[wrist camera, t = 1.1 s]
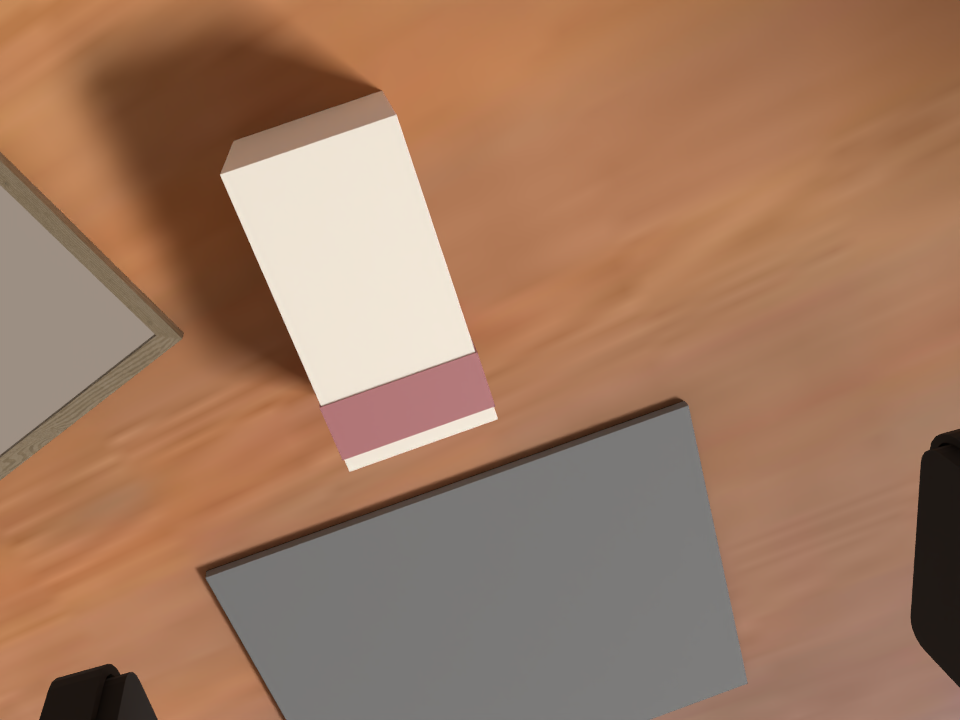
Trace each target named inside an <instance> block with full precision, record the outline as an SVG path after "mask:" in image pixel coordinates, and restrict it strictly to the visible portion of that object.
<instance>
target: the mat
mask: <svg viewBox="0 0 960 720" xmlns="http://www.w3.org/2000/svg"><path fill="white" fill-rule="evenodd" d="M206 580H207V581H208V583H209V585H210V587H211V588H212V590H213V592H214V594H215V595H216V597H217V599H218V601H219V602H220V604H221V606H222V608H223V610H224V611H225V613H226V615H227V617H228V618H229V620H230V622H231V624H232V625H233V627H234V629H235V631H236V632H237V634H238V636H239V638H240V639H241V641H242V643H243V645H244V646H245V648H246V650H247V652H248V654H249V655H250V657H251V659H252V661H253V662H254V664H255V666H256V668H257V669H258V671H259V673H260V675H261V676H262V678H263V680H264V682H265V683H266V685H267V687H268V689H269V690H270V692H271V694H272V696H273V698H274V699H275V701H276V703H277V705H278V706H279V708H280V710H281V712H282V713H283V715H284V717H285V719H286V720H650V719H653V718H656V717H658V716H661V715H664V714H666V713H669V712H672V711H675V710H677V709H680V708H683V707H685V706H688V705H691V704H693V703H696V702H699V701H702V700H704V699H707V698H710V697H712V696H715V695H718V694H720V693H723V692H726V691H729V690H731V689H734V688H737V687H739V686H742V685H745V684H747V678H746V673H745V669H744V664H743V659H742V655H741V650H740V645H739V641H738V636H737V631H736V627H735V622H734V617H733V612H732V608H731V603H730V598H729V594H728V589H727V584H726V580H725V575H724V570H723V566H722V561H721V556H720V552H719V547H718V542H717V538H716V533H715V528H714V523H713V519H712V514H711V509H710V505H709V500H708V495H707V491H706V486H705V481H704V477H703V472H702V467H701V463H700V458H699V453H698V449H697V444H696V439H695V434H694V430H693V425H692V420H691V416H690V411H689V406H688V405H687V403H686V402H685V401H683V402H680V403H677V404H675V405H672V406H669V407H666V408H663V409H661V410H658V411H655V412H652V413H649V414H646V415H644V416H641V417H638V418H635V419H632V420H630V421H627V422H624V423H621V424H618V425H616V426H613V427H610V428H607V429H604V430H602V431H599V432H596V433H593V434H590V435H588V436H585V437H582V438H579V439H576V440H574V441H571V442H568V443H565V444H562V445H560V446H557V447H554V448H551V449H548V450H546V451H543V452H540V453H537V454H534V455H531V456H529V457H526V458H523V459H520V460H517V461H515V462H512V463H509V464H506V465H503V466H501V467H498V468H495V469H492V470H489V471H487V472H484V473H481V474H478V475H475V476H473V477H470V478H467V479H464V480H461V481H459V482H456V483H453V484H450V485H447V486H445V487H442V488H439V489H436V490H433V491H431V492H428V493H425V494H422V495H419V496H417V497H414V498H411V499H408V500H405V501H402V502H400V503H397V504H394V505H391V506H388V507H386V508H383V509H380V510H377V511H374V512H372V513H369V514H366V515H363V516H360V517H358V518H355V519H352V520H349V521H346V522H344V523H341V524H338V525H335V526H332V527H330V528H327V529H324V530H321V531H318V532H316V533H313V534H310V535H307V536H304V537H302V538H299V539H296V540H293V541H290V542H287V543H285V544H282V545H279V546H276V547H273V548H271V549H268V550H265V551H262V552H259V553H257V554H254V555H251V556H248V557H245V558H243V559H240V560H237V561H234V562H231V563H229V564H226V565H223V566H220V567H217V568H215V569H212V570H209V571H206Z"/></svg>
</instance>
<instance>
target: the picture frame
mask: <svg viewBox="0 0 960 720" xmlns="http://www.w3.org/2000/svg"><path fill="white" fill-rule="evenodd" d="M183 334H184V333H183V332H182V331H181V330H180V329H179V328H178V327H177V326H176V325H175V324H174V323H173V322H172V321H171V320H170V319H169V318H168V317H167V316H166V315H165V314H164V313H163V312H162V311H161V310H160V309H159V308H158V307H157V306H156V305H155V304H154V303H153V302H152V301H151V300H150V299H149V298H148V297H147V296H146V295H145V294H144V293H143V292H142V291H141V290H140V289H139V288H138V287H137V286H136V285H135V284H134V283H133V282H132V281H131V280H130V279H129V278H128V277H127V276H126V275H125V274H124V273H123V272H122V271H121V270H120V269H119V268H117V267H116V266H115V265H114V264H113V263H112V262H111V261H110V260H109V259H108V258H107V257H106V256H105V255H104V254H103V253H102V252H101V251H100V250H99V249H98V248H97V247H96V246H95V245H94V244H93V243H92V242H91V241H90V240H89V239H88V238H87V237H86V236H85V235H84V234H83V233H82V232H81V231H80V230H79V229H78V228H77V227H76V226H75V225H74V224H73V223H72V222H71V221H70V220H69V219H68V218H67V217H66V216H65V215H64V214H63V213H62V212H61V211H60V210H59V209H58V208H57V207H56V206H55V205H54V204H53V203H52V202H51V201H50V200H49V199H48V198H47V197H46V196H45V195H44V194H43V193H42V192H40V191H39V190H38V189H37V188H36V187H35V186H34V185H33V184H32V183H31V182H30V181H29V180H28V179H27V178H26V177H25V176H24V175H23V174H22V173H21V172H20V171H19V170H18V169H17V168H16V167H15V166H14V165H13V164H12V163H11V162H10V161H9V160H8V159H7V158H6V157H5V156H4V155H3V154H2V153H1V152H0V480H1V479H3V478H4V477H5V476H6V475H8V474H9V473H10V472H12V471H13V470H14V469H15V468H17V467H18V466H19V465H21V464H22V463H23V462H24V461H26V460H27V459H28V458H30V457H31V456H32V455H33V454H35V453H36V452H37V451H39V450H40V449H41V448H42V447H44V446H45V445H46V444H48V443H49V442H50V441H51V440H53V439H54V438H55V437H57V436H58V435H59V434H60V433H62V432H63V431H64V430H66V429H67V428H68V427H69V426H71V425H72V424H73V423H75V422H76V421H77V420H78V419H80V418H81V417H82V416H84V415H85V414H86V413H87V412H89V411H90V410H91V409H93V408H94V407H95V406H96V405H98V404H99V403H100V402H102V401H103V400H104V399H105V398H107V397H108V396H109V395H110V394H112V393H113V392H114V391H116V390H117V389H118V388H119V387H121V386H122V385H123V384H125V383H126V382H127V381H128V380H130V379H131V378H132V377H134V376H135V375H136V374H137V373H139V372H140V371H141V370H143V369H144V368H145V367H146V366H148V365H149V364H150V363H152V362H153V361H154V360H155V359H157V358H158V357H159V356H161V355H162V354H163V353H164V352H166V351H167V350H168V349H170V348H171V347H172V346H173V345H175V344H176V343H177V342H179V341H180V340H181V339H182V338H183Z"/></svg>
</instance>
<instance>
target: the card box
mask: <svg viewBox="0 0 960 720" xmlns="http://www.w3.org/2000/svg"><path fill="white" fill-rule="evenodd" d="M220 176H221V178H222V180H223V183H224V185H225V187H226V190H227V192H228V194H229V196H230V199H231V201H232V203H233V206H234V208H235V210H236V212H237V215H238V217H239V219H240V222H241V224H242V226H243V229H244V231H245V233H246V235H247V238H248V240H249V242H250V245H251V247H252V249H253V251H254V254H255V256H256V258H257V261H258V263H259V265H260V267H261V270H262V272H263V274H264V277H265V279H266V281H267V283H268V286H269V288H270V290H271V293H272V295H273V297H274V300H275V302H276V304H277V306H278V309H279V311H280V313H281V316H282V318H283V320H284V322H285V325H286V327H287V329H288V332H289V334H290V336H291V338H292V341H293V343H294V345H295V348H296V350H297V352H298V354H299V357H300V359H301V361H302V364H303V366H304V368H305V371H306V373H307V375H308V377H309V380H310V382H311V384H312V387H313V389H314V391H315V393H316V396H317V398H318V400H319V403H320V410H321V412H322V414H323V417H324V419H325V421H326V423H327V426H328V428H329V430H330V432H331V435H332V437H333V439H334V442H335V444H336V446H337V448H338V451H339V453H340V455H341V458H342V460H345V462H346V464H347V467H348V469H349V471H353V470H356V469H359V468H361V467H364V466H367V465H370V464H373V463H376V462H378V461H381V460H384V459H387V458H390V457H392V456H395V455H398V454H401V453H404V452H407V451H409V450H412V449H415V448H418V447H421V446H423V445H426V444H429V443H432V442H435V441H438V440H440V439H443V438H446V437H449V436H452V435H454V434H457V433H460V432H463V431H466V430H469V429H471V428H474V427H477V426H480V425H483V424H485V423H488V422H491V421H494V420H497V419H498V418H497V415H496V412H495V409H494V407H495V404H494V401H493V398H492V395H491V392H490V389H489V386H488V383H487V380H486V377H485V374H484V371H483V368H482V365H481V362H480V359H479V356H478V353H477V351H476V348H475V346H474V344H473V341H472V339H471V337H470V334H469V331H468V328H467V325H466V322H465V319H464V316H463V313H462V310H461V307H460V304H459V301H458V298H457V295H456V292H455V289H454V286H453V283H452V280H451V277H450V274H449V271H448V268H447V265H446V262H445V259H444V256H443V253H442V250H441V247H440V244H439V241H438V238H437V235H436V232H435V229H434V226H433V223H432V220H431V217H430V214H429V211H428V208H427V205H426V202H425V199H424V196H423V193H422V190H421V187H420V184H419V181H418V178H417V175H416V172H415V169H414V166H413V163H412V160H411V157H410V154H409V151H408V148H407V145H406V142H405V139H404V136H403V133H402V130H401V127H400V124H399V121H398V118H397V115H396V113H395V112H394V110H393V108H392V107H391V105H390V103H389V101H388V100H387V98H386V96H385V95H384V93H383V91H379V92H377V93H374V94H371V95H368V96H365V97H362V98H359V99H356V100H353V101H350V102H347V103H344V104H341V105H338V106H335V107H332V108H329V109H326V110H323V111H320V112H317V113H314V114H312V115H309V116H306V117H303V118H300V119H297V120H294V121H291V122H288V123H285V124H282V125H279V126H276V127H273V128H270V129H267V130H264V131H261V132H258V133H255V134H252V135H249V136H247V137H244V138H241V139H238V140H235V141H233V144H232V146H231V149H230V151H229V153H228V156H227V158H226V161H225V163H224V166H223V168H222V171H221V173H220Z"/></svg>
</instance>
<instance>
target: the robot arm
mask: <svg viewBox="0 0 960 720" xmlns="http://www.w3.org/2000/svg"><path fill="white" fill-rule="evenodd" d="M911 625H912V629H913V632H914V634H915V636H916V638H917V640H918V642H919V643H920V645H921V646H922V648H923V649H924V650H925V651H926V652H927V653H928V654H929V655H930V657H931V658H932V659H933V660H934V661H935V662H936V663H937V664H938V665H939V666H940V667H941V668H942V669H943V670H944V671H945V672H946V673H947V675H948V676H949V677H950V678H951V679H952V680H953V681H954V682H955V683H956V684H957V685H958V686H959V687H960V429H957V430H954V431H950V432H946V433H943V434H940V435H938V436H936V437H935V438H934V439H933V441H932V442H931V447H930V450H928V451H926V452H925V453H924V454H923V456H922V460H921V470H920V485H919V500H918V515H917V529H916V544H915V559H914V574H913V589H912V604H911ZM39 720H158V719H157V717H156V715H155V713H154V711H153V708H152V706H151V704H150V702H149V700H148V698H147V696H146V693H145V691H144V689H143V687H142V685H141V683H140V681H139V679H138V677H137V675H136V674H134V673H133V672H129V673H125V674H122V675H120V673H119V672H118V670H117V668H116V667H114V666H113V665H112V664H106V665H103V666H99V667H95V668H92V669H88V670H84V671H81V672H77V673H74V674H70V675H66V676H63V677H59V678H56V679H55V680H54V681H53V682H52V683H51V686H50V688H49V690H48V693H47V696H46V700H45V703H44V706H43V710H42V713H41V716H40V719H39Z"/></svg>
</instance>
